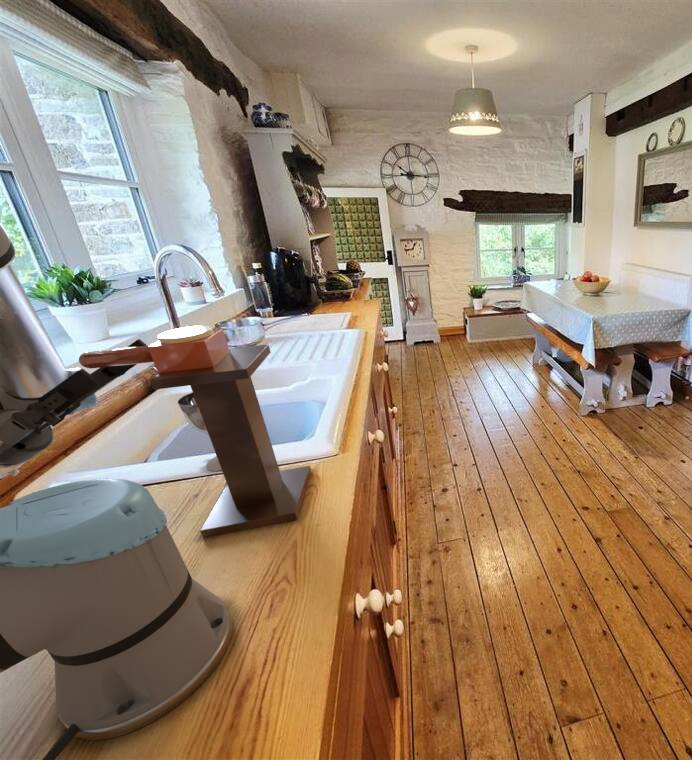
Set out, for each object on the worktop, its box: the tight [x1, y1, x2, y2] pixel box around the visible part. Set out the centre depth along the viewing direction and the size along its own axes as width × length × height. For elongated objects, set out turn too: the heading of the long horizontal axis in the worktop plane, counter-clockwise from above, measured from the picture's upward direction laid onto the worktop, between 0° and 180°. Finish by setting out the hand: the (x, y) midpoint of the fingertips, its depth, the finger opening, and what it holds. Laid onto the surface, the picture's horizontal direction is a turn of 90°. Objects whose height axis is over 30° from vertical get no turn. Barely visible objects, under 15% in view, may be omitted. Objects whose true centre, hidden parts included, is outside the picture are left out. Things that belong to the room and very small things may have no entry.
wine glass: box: [177, 392, 222, 472], centre depth 83 cm, size 8×8×15 cm
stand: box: [149, 343, 312, 539], centre depth 68 cm, size 14×14×27 cm
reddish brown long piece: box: [78, 325, 230, 374], centre depth 60 cm, size 17×7×5 cm, turn 105°
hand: (121, 359), depth 59 cm, fingers open, 13 cm apart
